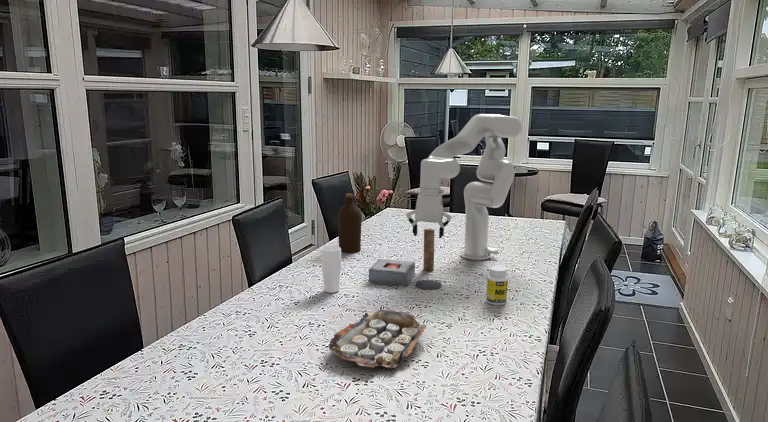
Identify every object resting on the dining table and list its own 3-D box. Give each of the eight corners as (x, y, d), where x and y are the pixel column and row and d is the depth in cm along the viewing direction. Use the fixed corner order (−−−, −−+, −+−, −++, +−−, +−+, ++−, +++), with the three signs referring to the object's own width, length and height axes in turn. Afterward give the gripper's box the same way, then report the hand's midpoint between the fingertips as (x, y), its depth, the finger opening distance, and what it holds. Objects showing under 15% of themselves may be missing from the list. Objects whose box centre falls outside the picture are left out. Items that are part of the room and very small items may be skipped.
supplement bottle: (494, 306, 167) (496, 272, 165) (482, 300, 172) (483, 267, 170) (510, 303, 170) (512, 269, 167) (497, 297, 175) (499, 264, 173)
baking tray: (400, 385, 121) (400, 364, 120) (315, 368, 128) (315, 347, 127) (433, 332, 148) (434, 314, 147) (362, 320, 156) (362, 303, 154)
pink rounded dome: (399, 272, 195) (399, 265, 194) (396, 275, 190) (397, 269, 190) (388, 271, 196) (388, 265, 195) (385, 274, 192) (385, 268, 191)
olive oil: (346, 255, 224) (346, 196, 219) (332, 249, 232) (332, 193, 227) (366, 250, 231) (366, 194, 226) (352, 245, 239) (352, 191, 234)
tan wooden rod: (434, 268, 206) (435, 228, 202) (432, 271, 202) (433, 231, 199) (424, 268, 207) (425, 228, 203) (422, 271, 203) (423, 230, 200)
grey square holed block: (414, 274, 198) (415, 261, 197) (407, 286, 185) (407, 272, 184) (378, 271, 202) (378, 258, 201) (368, 283, 189) (368, 269, 188)
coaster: (442, 282, 189) (442, 280, 189) (439, 290, 181) (439, 289, 181) (418, 280, 192) (418, 278, 192) (413, 288, 183) (413, 286, 183)
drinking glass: (345, 289, 182) (344, 247, 179) (335, 295, 176) (334, 252, 173) (328, 286, 185) (327, 244, 182) (317, 292, 179) (317, 249, 176)
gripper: (454, 192, 200) (451, 236, 203) (409, 189, 204) (407, 232, 207) (451, 194, 192) (449, 240, 195) (405, 192, 197) (403, 236, 200)
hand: (427, 236), depth 201 cm, fingers open, 9 cm apart
